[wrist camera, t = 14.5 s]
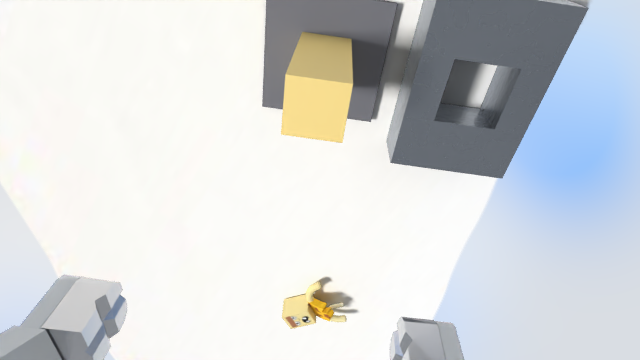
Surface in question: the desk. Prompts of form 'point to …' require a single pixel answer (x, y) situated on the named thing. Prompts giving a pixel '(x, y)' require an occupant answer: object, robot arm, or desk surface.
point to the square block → (318, 88)
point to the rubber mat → (333, 20)
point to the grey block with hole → (503, 93)
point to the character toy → (308, 309)
